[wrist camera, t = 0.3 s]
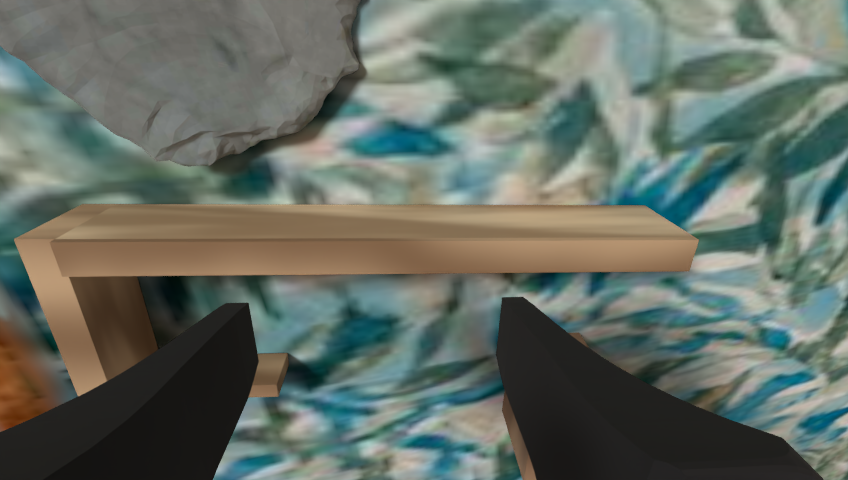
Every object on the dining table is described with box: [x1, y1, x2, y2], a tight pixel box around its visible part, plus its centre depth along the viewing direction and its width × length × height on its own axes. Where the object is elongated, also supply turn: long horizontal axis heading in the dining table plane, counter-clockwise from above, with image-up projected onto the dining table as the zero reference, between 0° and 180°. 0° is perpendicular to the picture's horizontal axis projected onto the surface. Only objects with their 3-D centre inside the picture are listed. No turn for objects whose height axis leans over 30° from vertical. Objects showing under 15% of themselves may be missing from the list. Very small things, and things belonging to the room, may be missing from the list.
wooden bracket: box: [14, 204, 699, 397], centre depth 21 cm, size 10×28×4 cm, turn 89°
